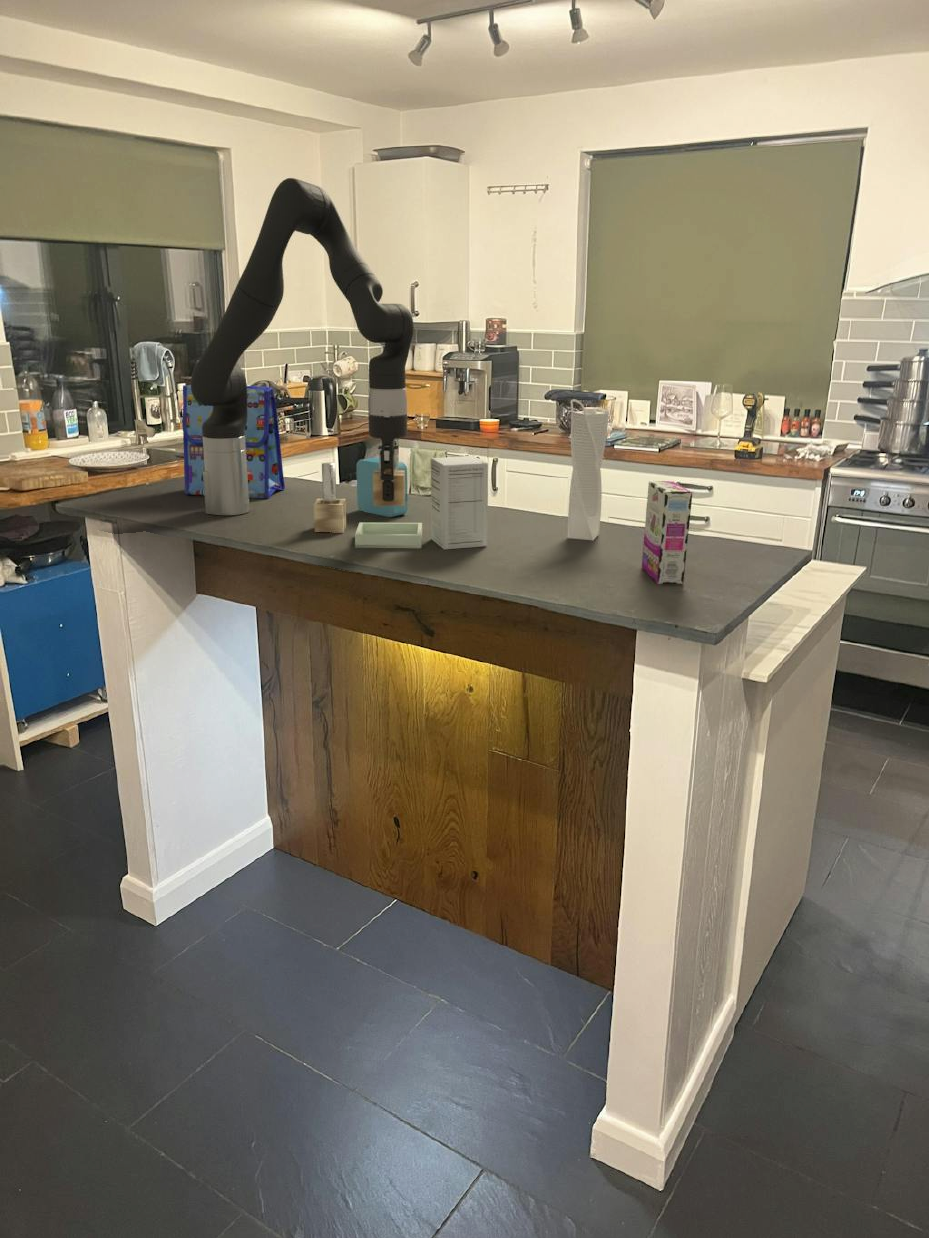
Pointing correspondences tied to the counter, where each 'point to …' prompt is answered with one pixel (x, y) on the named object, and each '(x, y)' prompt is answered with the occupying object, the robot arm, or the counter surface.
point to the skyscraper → (586, 471)
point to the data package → (365, 489)
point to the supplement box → (459, 502)
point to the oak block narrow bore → (398, 489)
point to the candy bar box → (666, 532)
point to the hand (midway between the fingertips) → (389, 497)
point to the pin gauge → (329, 483)
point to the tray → (388, 535)
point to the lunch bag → (258, 441)
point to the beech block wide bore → (330, 516)
